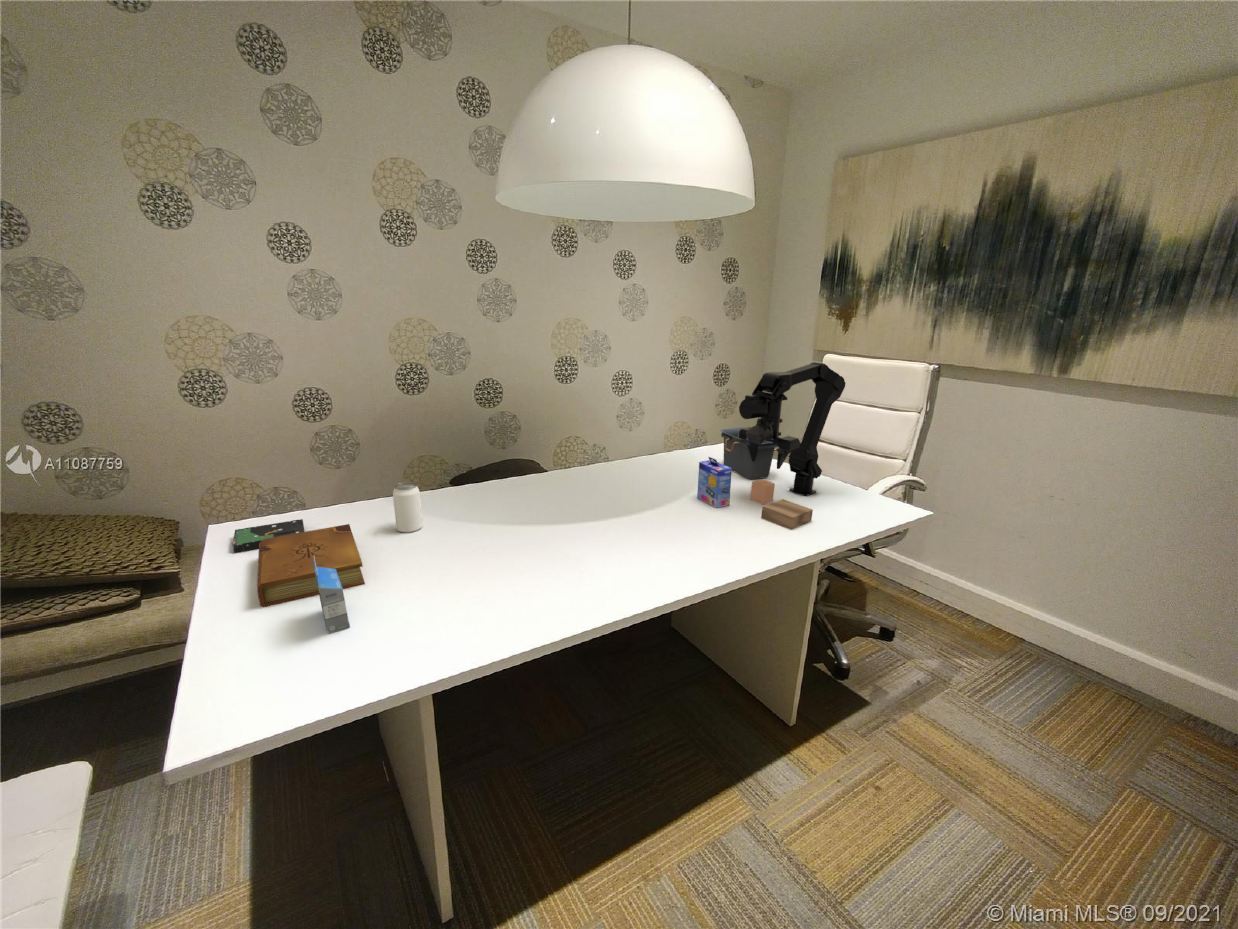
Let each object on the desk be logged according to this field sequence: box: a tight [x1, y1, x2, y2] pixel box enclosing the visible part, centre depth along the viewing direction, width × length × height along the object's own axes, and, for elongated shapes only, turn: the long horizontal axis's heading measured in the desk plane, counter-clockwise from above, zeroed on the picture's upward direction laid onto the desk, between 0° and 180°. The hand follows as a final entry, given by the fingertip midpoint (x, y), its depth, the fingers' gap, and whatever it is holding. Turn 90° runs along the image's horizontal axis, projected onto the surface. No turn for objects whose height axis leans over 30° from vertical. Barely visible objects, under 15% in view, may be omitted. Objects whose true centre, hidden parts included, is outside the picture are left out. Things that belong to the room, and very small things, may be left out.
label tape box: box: [314, 555, 351, 634], centre depth 100 cm, size 9×4×12 cm, turn 33°
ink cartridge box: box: [696, 456, 733, 509], centre depth 164 cm, size 10×6×14 cm, turn 30°
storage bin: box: [720, 426, 779, 480], centre depth 194 cm, size 21×16×14 cm
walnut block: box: [760, 499, 814, 531], centre depth 154 cm, size 10×10×4 cm
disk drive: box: [232, 518, 305, 554], centre depth 133 cm, size 10×3×15 cm
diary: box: [256, 523, 366, 608], centre depth 118 cm, size 23×19×6 cm
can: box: [392, 481, 423, 534], centre depth 140 cm, size 6×6×12 cm
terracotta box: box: [749, 478, 776, 505], centre depth 168 cm, size 5×5×6 cm
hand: (765, 465), depth 165 cm, fingers open, 9 cm apart
